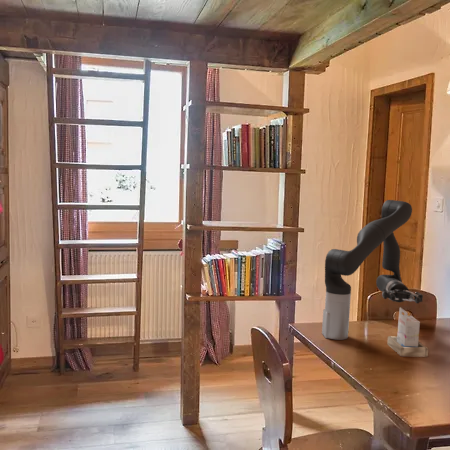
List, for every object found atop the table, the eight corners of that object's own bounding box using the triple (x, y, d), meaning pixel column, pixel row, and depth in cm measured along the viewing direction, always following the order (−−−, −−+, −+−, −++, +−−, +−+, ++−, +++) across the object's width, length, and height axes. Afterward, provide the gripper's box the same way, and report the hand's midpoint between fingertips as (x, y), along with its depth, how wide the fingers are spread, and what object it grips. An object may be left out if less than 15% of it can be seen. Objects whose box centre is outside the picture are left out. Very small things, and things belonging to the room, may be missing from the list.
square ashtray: (400, 356, 174) (401, 347, 173) (387, 344, 186) (387, 336, 186) (427, 356, 174) (428, 348, 174) (412, 344, 186) (413, 336, 186)
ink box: (418, 354, 176) (421, 313, 174) (403, 354, 176) (406, 312, 174) (409, 346, 184) (412, 307, 183) (395, 346, 184) (398, 306, 183)
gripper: (379, 280, 203) (387, 288, 187) (416, 283, 202) (427, 291, 186) (378, 298, 204) (385, 308, 188) (414, 301, 202) (425, 311, 186)
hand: (406, 299), depth 187 cm, fingers open, 8 cm apart
